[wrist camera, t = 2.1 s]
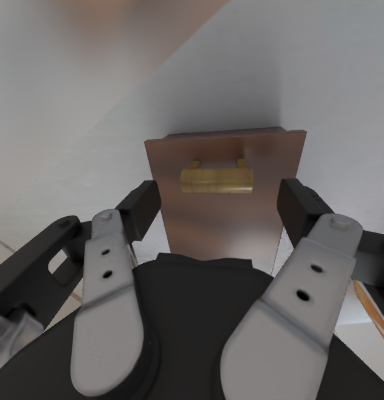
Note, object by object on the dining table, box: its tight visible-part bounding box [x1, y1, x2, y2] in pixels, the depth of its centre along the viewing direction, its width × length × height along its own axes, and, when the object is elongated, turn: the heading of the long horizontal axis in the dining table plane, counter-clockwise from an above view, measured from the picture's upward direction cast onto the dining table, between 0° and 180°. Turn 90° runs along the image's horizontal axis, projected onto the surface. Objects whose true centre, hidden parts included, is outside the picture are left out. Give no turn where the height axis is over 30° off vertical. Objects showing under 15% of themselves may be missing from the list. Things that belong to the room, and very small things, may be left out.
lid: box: [144, 130, 307, 275], centre depth 17 cm, size 18×14×5 cm
